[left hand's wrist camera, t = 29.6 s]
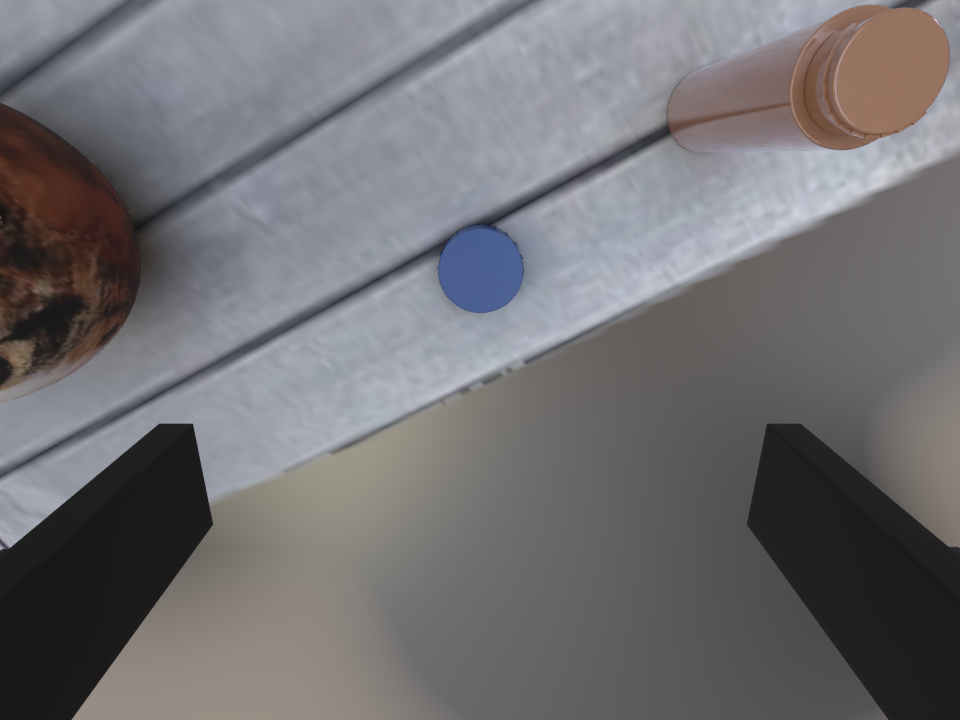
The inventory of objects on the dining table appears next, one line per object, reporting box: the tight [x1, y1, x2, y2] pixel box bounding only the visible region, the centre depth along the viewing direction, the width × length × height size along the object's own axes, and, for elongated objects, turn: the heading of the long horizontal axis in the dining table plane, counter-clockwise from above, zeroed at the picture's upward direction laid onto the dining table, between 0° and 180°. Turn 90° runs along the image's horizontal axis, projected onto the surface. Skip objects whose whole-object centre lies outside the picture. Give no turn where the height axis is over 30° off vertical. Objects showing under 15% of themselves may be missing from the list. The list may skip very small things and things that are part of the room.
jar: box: [667, 5, 950, 153], centre depth 27 cm, size 5×5×17 cm
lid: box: [438, 224, 524, 313], centre depth 38 cm, size 6×6×2 cm
